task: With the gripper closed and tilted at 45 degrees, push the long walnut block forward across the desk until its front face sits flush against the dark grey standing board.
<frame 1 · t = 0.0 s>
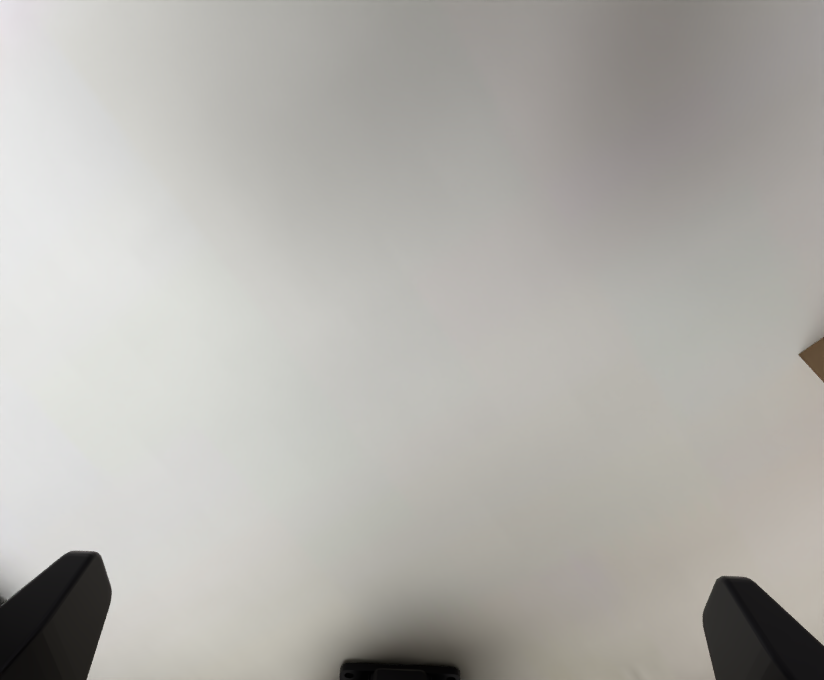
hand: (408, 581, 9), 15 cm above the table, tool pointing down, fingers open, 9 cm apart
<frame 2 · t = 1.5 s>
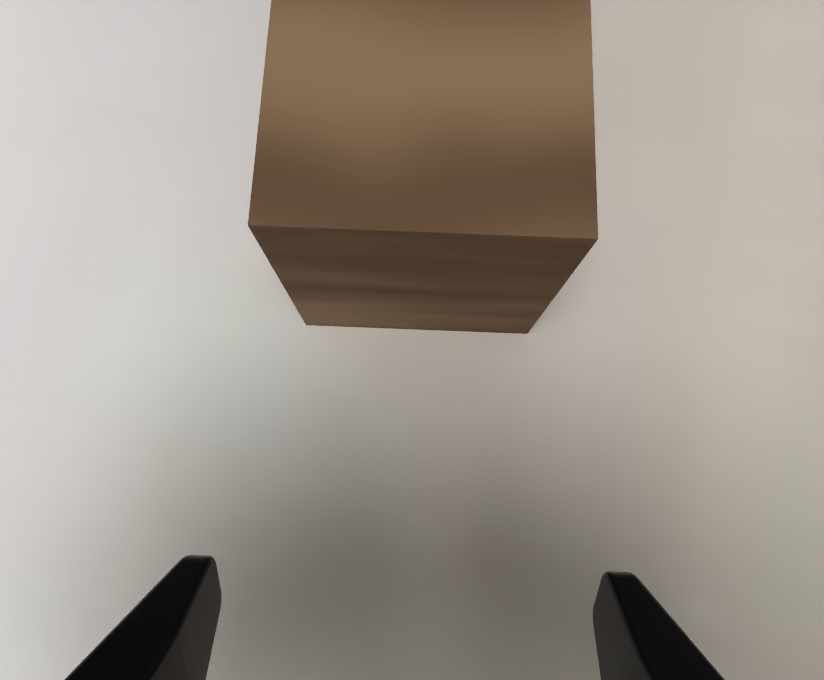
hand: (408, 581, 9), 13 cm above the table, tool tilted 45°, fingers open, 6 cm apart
walnut block: (423, 156, 25), on the table
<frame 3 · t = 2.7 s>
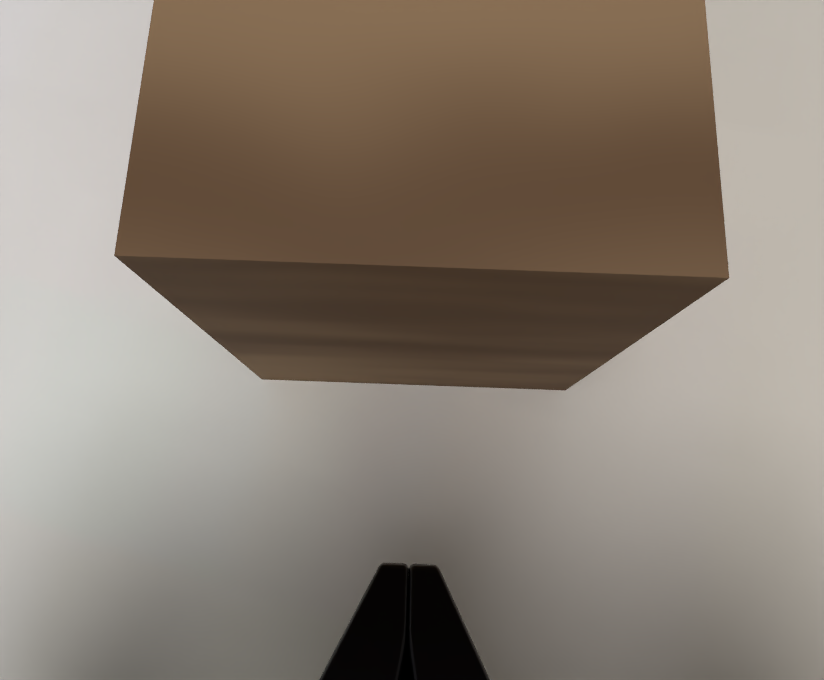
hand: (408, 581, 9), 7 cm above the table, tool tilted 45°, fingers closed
walnut block: (421, 148, 19), on the table
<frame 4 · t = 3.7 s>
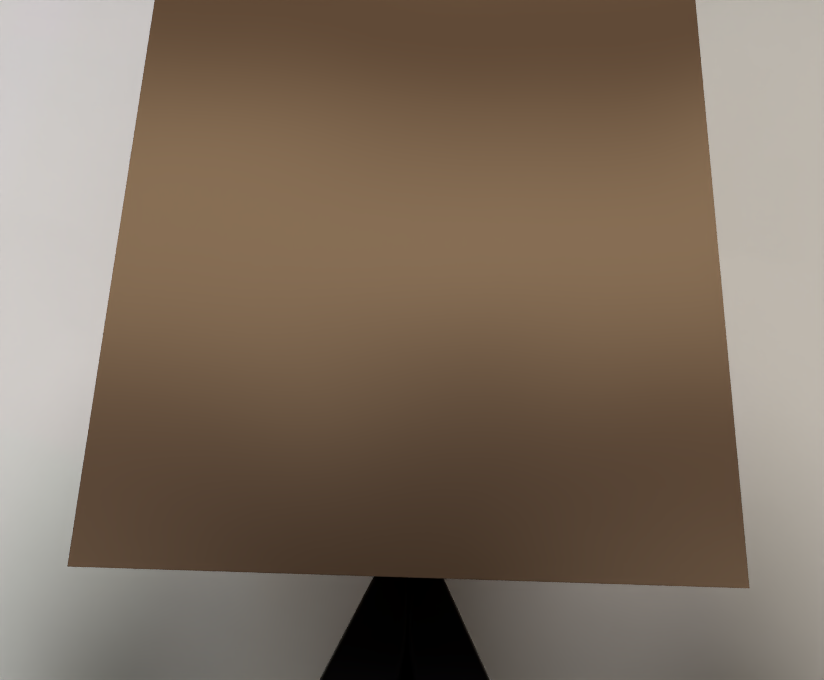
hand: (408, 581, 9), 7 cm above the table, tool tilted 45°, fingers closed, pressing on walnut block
walnut block: (415, 276, 18), on the table, touching gripper
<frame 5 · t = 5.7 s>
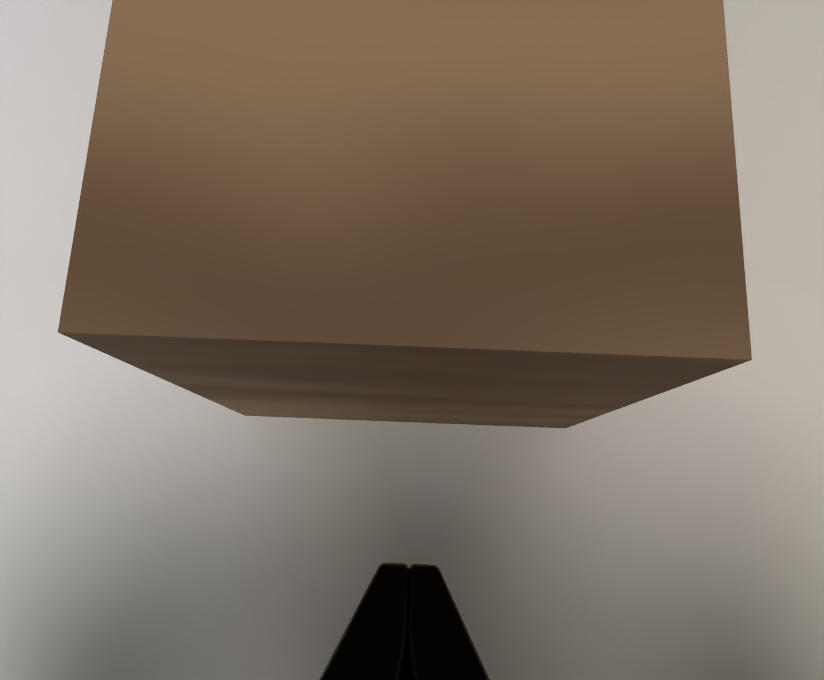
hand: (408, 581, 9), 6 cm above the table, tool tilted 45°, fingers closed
walnut block: (415, 167, 18), on the table
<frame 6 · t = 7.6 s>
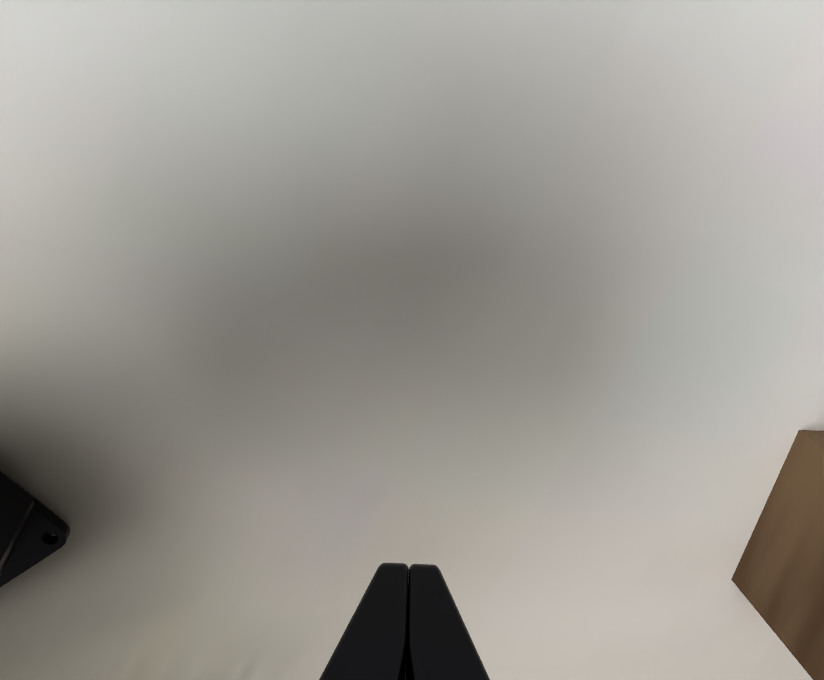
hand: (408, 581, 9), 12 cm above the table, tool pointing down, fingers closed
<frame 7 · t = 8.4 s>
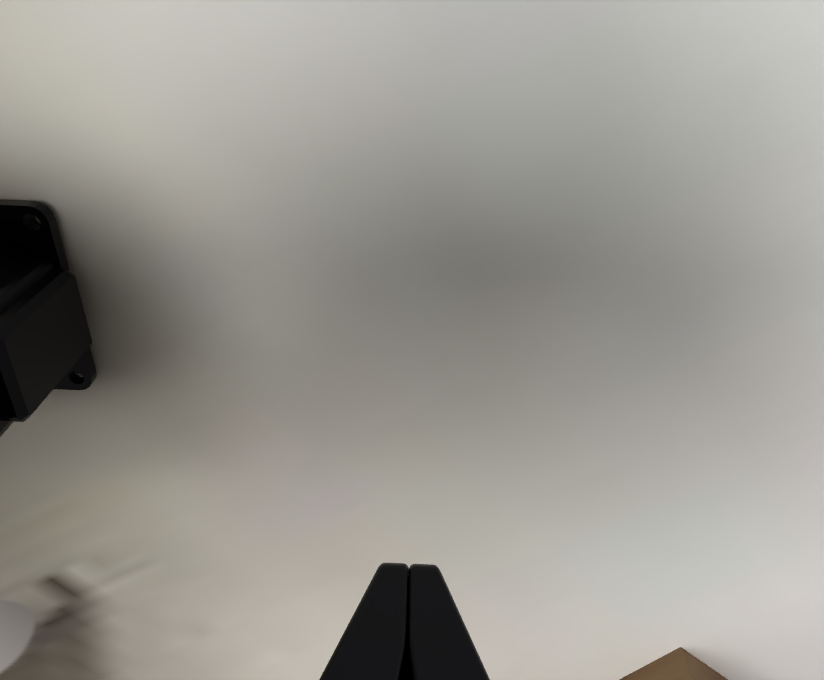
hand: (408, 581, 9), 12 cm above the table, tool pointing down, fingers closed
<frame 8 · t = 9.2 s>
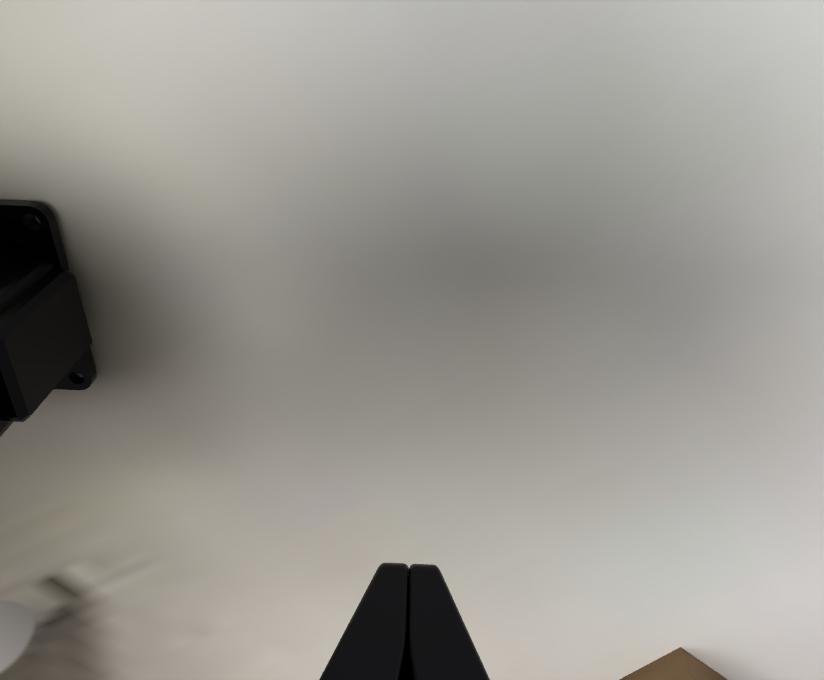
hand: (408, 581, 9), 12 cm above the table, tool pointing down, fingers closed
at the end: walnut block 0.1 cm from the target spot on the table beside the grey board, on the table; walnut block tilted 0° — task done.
